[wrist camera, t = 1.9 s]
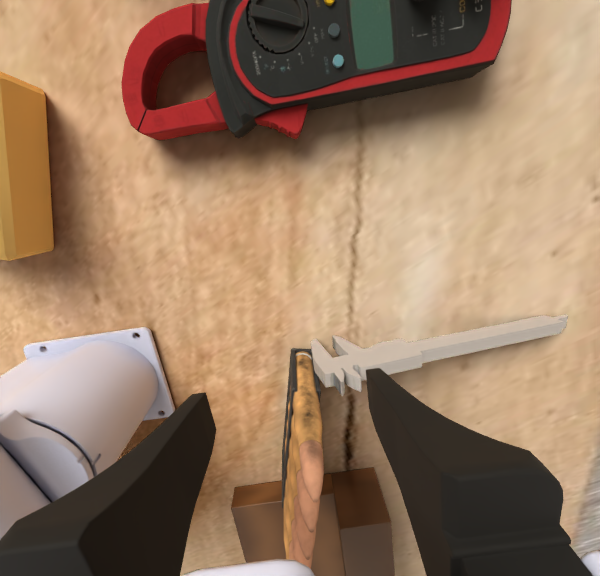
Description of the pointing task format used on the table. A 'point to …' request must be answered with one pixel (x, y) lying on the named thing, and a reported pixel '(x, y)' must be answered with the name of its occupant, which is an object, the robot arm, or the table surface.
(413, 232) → the table surface
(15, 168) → the rubber stamp
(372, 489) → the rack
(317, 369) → the caliper
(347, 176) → the table surface
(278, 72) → the digital clamp meter
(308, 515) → the ammunition clip
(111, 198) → the table surface
